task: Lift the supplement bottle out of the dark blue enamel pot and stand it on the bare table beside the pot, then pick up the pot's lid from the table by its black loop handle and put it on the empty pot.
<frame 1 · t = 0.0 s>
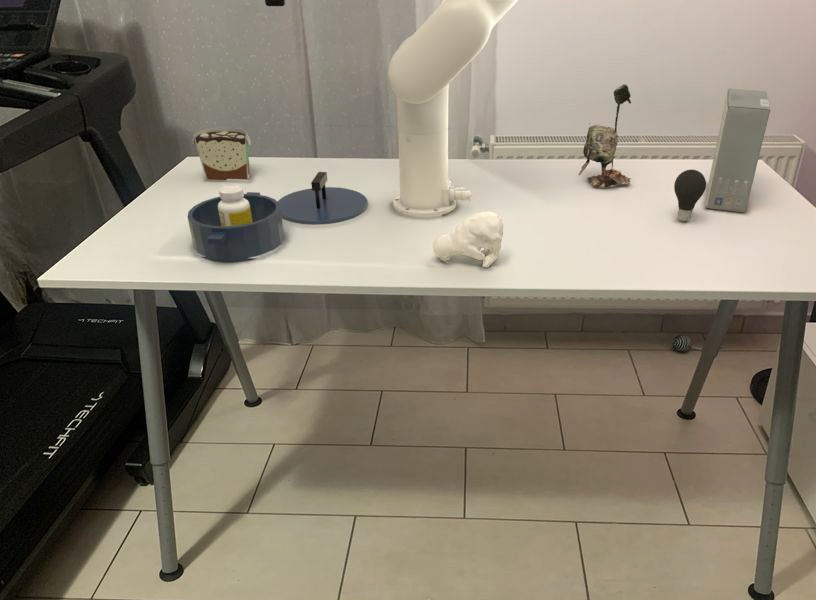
hand: (283, 1, 124), 37 cm above the table, tool pointing down, fingers open, 9 cm apart
pot: (240, 243, 128), on the table
light bulb: (683, 222, 136), on the table
hard drive box: (725, 199, 146), on the table
white lumpy rounded piece: (467, 261, 122), on the table
bird figurine: (603, 183, 154), on the table
food container: (232, 177, 158), on the table
lid: (322, 206, 141), point 1 cm above the table
supplement bottle: (240, 242, 128), resting on pot
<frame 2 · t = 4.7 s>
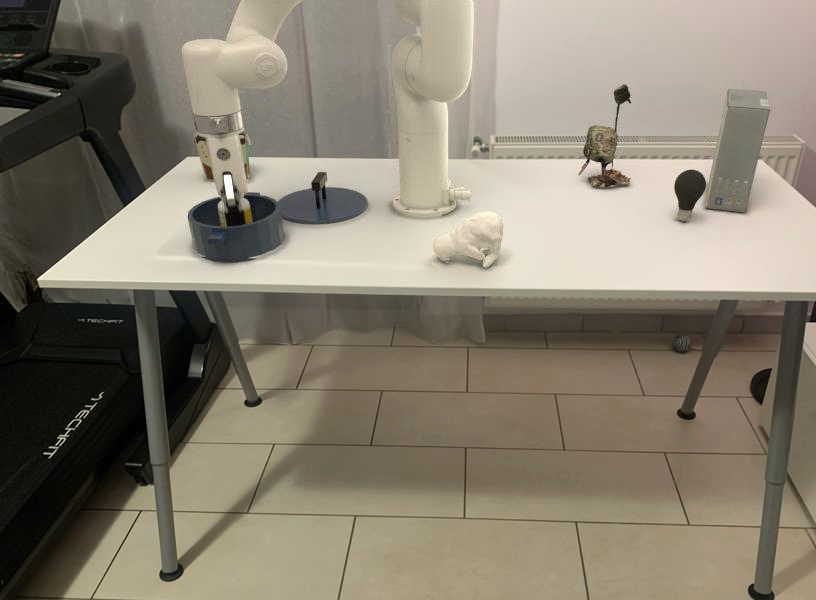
hand: (237, 225, 126), 4 cm above the table, tool pointing down, fingers closed on supplement bottle, 5 cm apart
supplement bottle: (240, 242, 128), resting on pot, touching gripper
everything else where it was.
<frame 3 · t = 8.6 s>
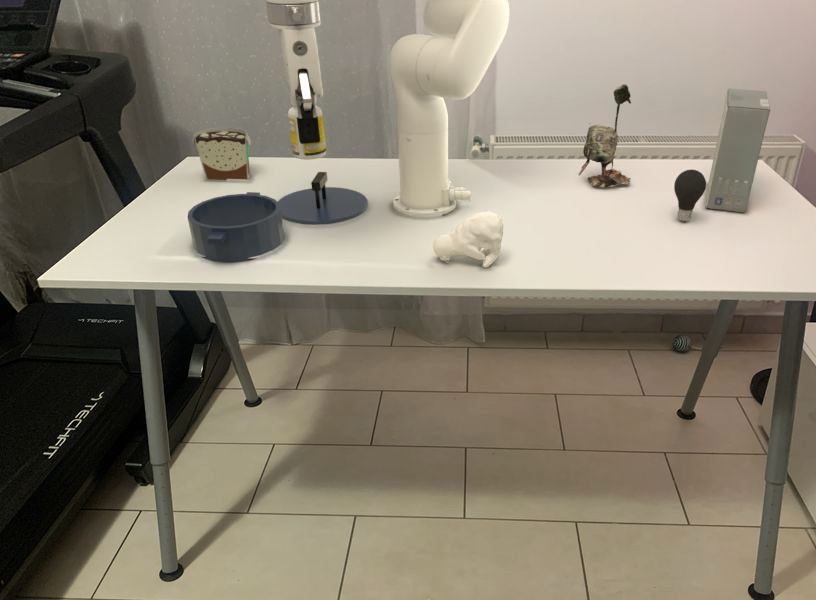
hand: (307, 135, 116), 20 cm above the table, tool pointing down, fingers closed on supplement bottle, 5 cm apart
supplement bottle: (310, 156, 118), point 16 cm above the table, touching gripper
everything else where it was.
when the fingers open (3 cm above the table, at t = 12.7 s): supplement bottle stays where it is, on the table.
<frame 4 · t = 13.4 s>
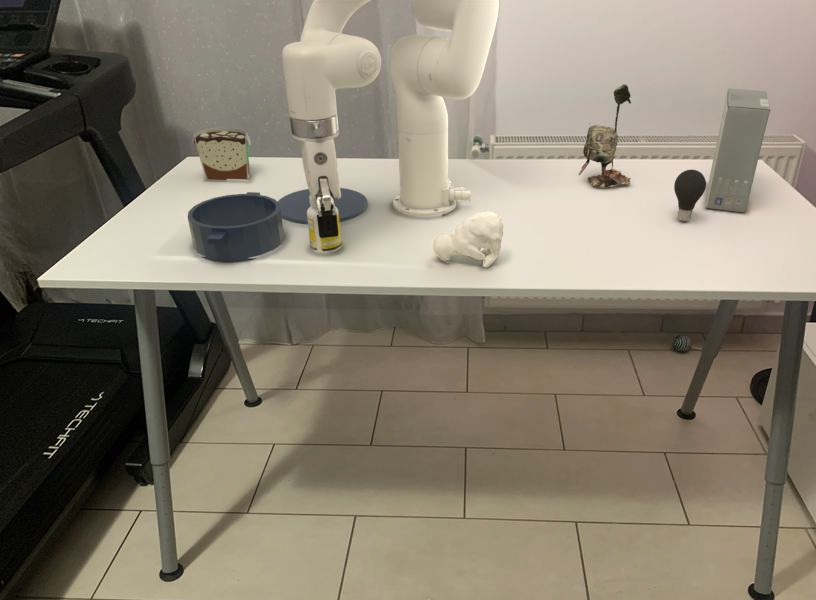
hand: (325, 225, 124), 4 cm above the table, tool pointing down, fingers open, 9 cm apart
supplement bottle: (326, 249, 126), on the table
everything else where it was.
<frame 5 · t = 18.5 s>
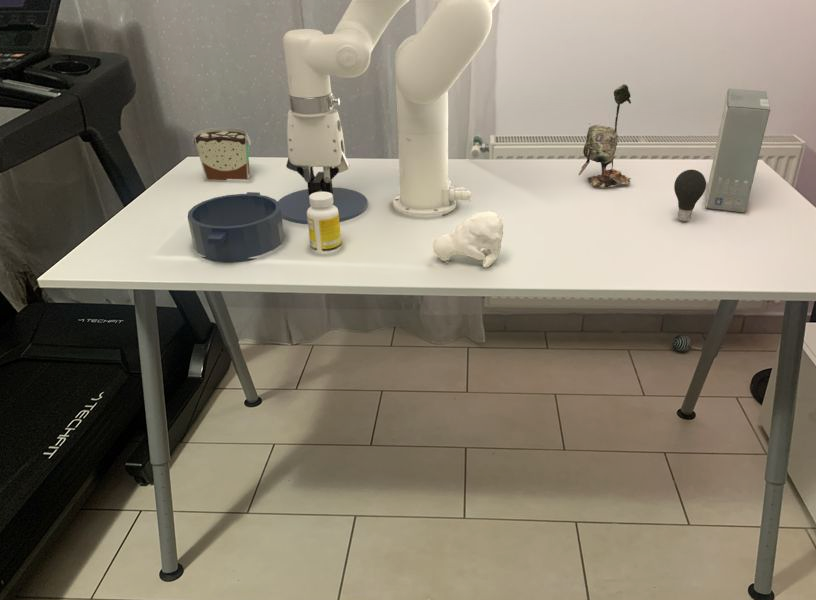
hand: (321, 199, 141), 2 cm above the table, tool pointing down, fingers closed on lid
lid: (322, 206, 141), point 1 cm above the table, touching gripper
everything else where it was.
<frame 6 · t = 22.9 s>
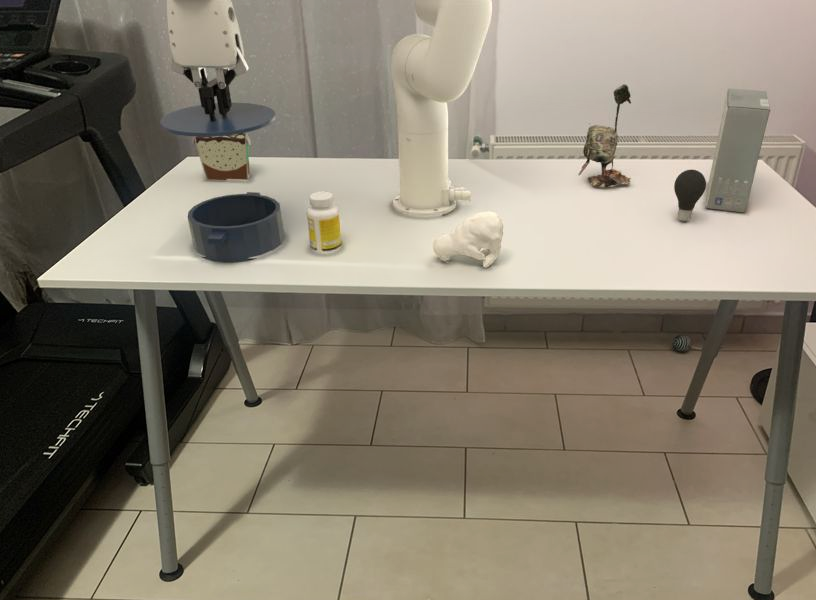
hand: (217, 111, 116), 23 cm above the table, tool pointing down, fingers closed on lid
lid: (219, 120, 116), point 22 cm above the table, touching gripper
everything else where it was.
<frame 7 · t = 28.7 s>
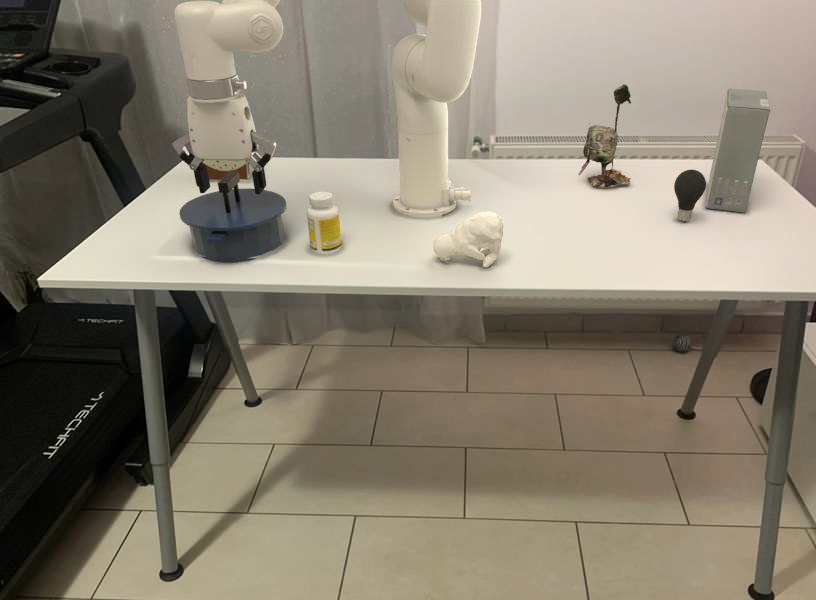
hand: (232, 191, 123), 10 cm above the table, tool pointing down, fingers open, 9 cm apart
lid: (234, 210, 125), point 6 cm above the table, touching pot
everything else where it was.
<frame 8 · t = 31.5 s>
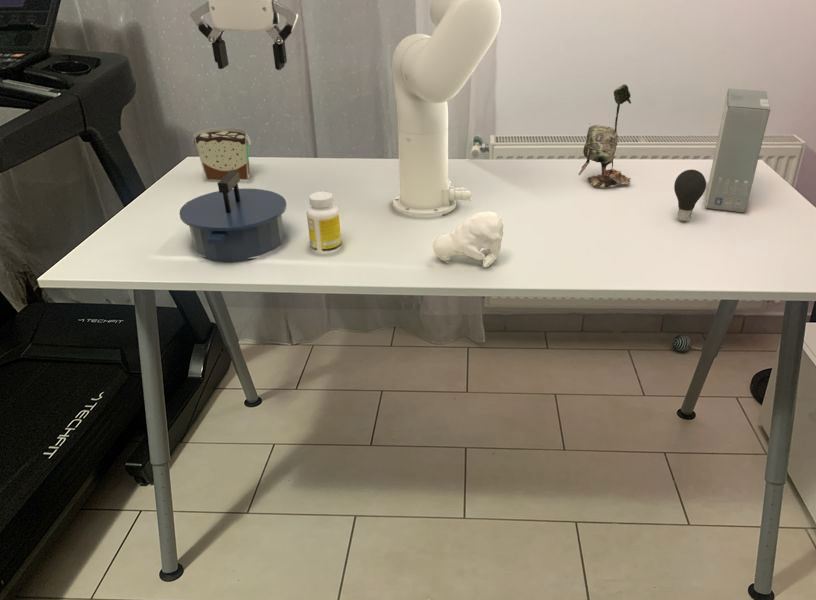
hand: (251, 67, 119), 28 cm above the table, tool pointing down, fingers open, 9 cm apart
nothing on the table moved.
at the end: supplement bottle inside the target area (0.1 cm from its centre), on the table; lid 0.1 cm off-centre on the pot, point 6.3 cm above the pot's base; lid tilted 0° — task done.
